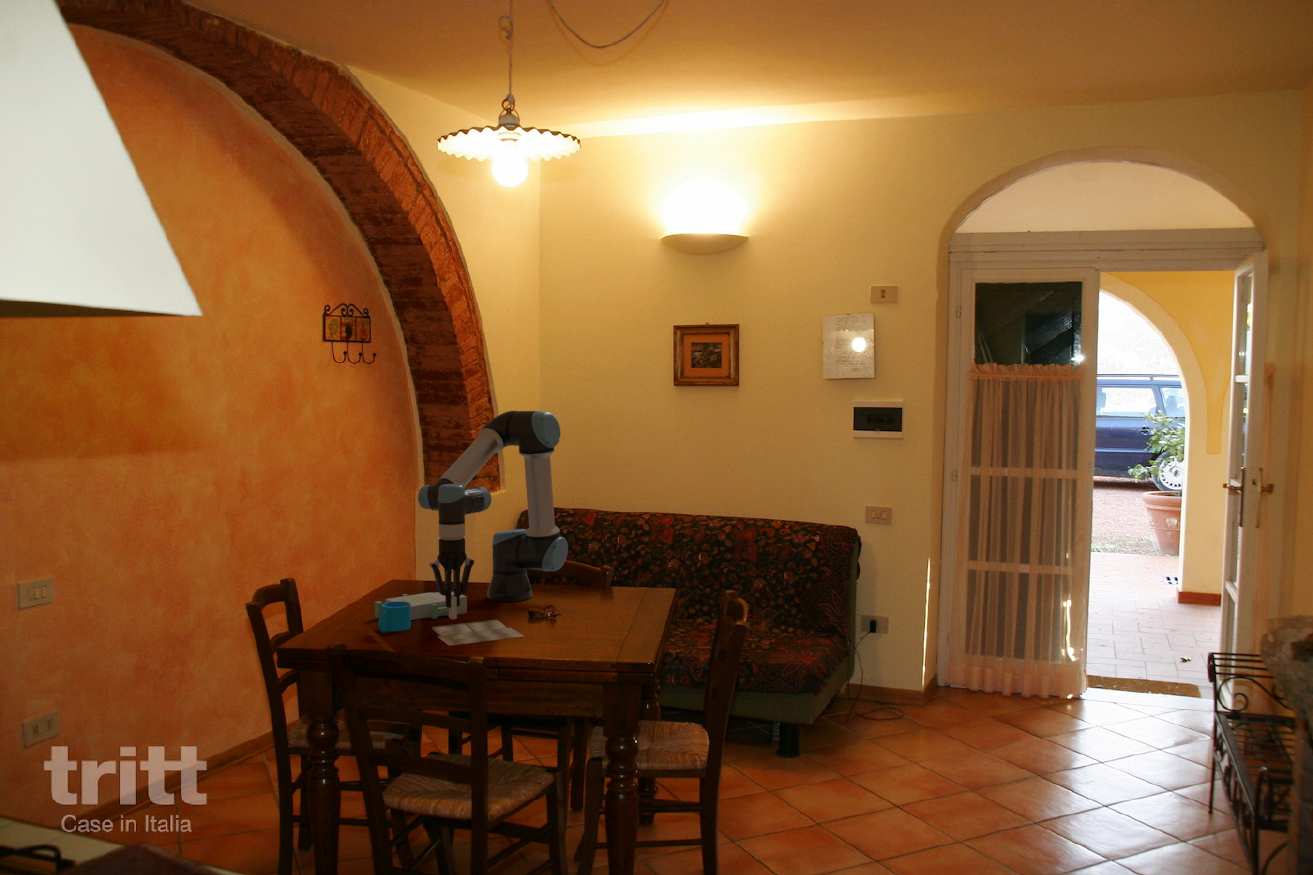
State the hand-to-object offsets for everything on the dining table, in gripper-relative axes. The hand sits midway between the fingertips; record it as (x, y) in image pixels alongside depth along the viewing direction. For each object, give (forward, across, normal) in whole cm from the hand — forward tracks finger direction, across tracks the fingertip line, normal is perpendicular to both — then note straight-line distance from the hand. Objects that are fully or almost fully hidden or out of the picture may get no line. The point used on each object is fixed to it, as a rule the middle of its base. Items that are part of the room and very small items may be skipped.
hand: (452, 617), depth 274 cm
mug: (+5, +15, -8) cm, 18 cm away
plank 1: (+4, 0, +1) cm, 5 cm away
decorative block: (+5, +2, -25) cm, 26 cm away
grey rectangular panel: (+4, -10, +1) cm, 11 cm away
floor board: (+5, -5, +11) cm, 13 cm away
